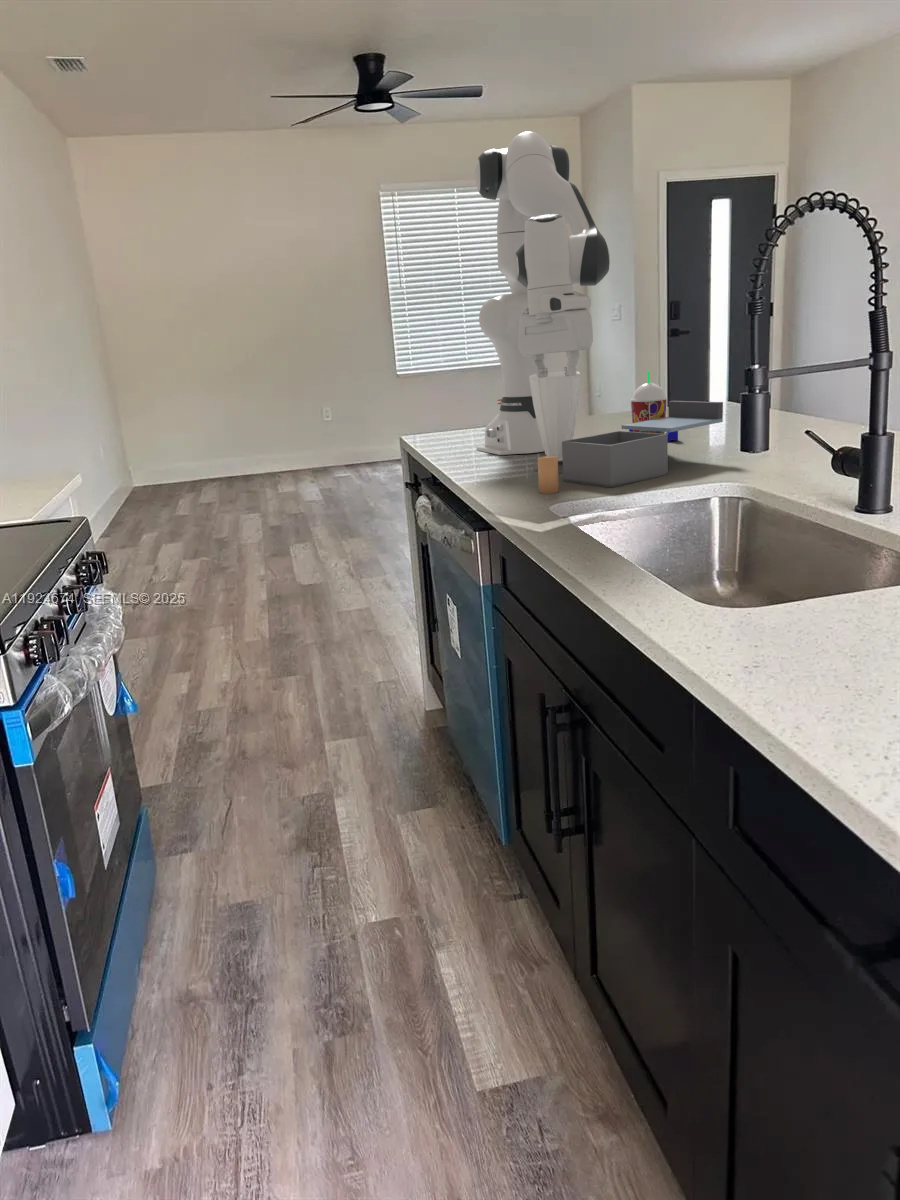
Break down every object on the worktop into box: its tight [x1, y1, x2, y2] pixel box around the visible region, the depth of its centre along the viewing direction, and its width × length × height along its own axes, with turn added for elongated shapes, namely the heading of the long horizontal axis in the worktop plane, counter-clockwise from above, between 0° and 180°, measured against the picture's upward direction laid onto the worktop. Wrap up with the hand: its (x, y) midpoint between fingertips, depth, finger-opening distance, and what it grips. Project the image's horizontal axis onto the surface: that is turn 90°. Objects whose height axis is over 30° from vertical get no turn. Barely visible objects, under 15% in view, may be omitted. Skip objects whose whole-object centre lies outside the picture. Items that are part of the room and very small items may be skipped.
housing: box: [562, 430, 669, 489], centre depth 184 cm, size 14×17×8 cm
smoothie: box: [630, 370, 668, 434], centre depth 206 cm, size 8×8×20 cm
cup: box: [529, 371, 581, 475], centre depth 197 cm, size 12×12×22 cm
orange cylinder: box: [537, 455, 560, 495], centre depth 175 cm, size 4×4×7 cm
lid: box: [621, 400, 724, 433], centre depth 191 cm, size 14×17×4 cm
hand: (556, 376), depth 172 cm, fingers open, 8 cm apart
